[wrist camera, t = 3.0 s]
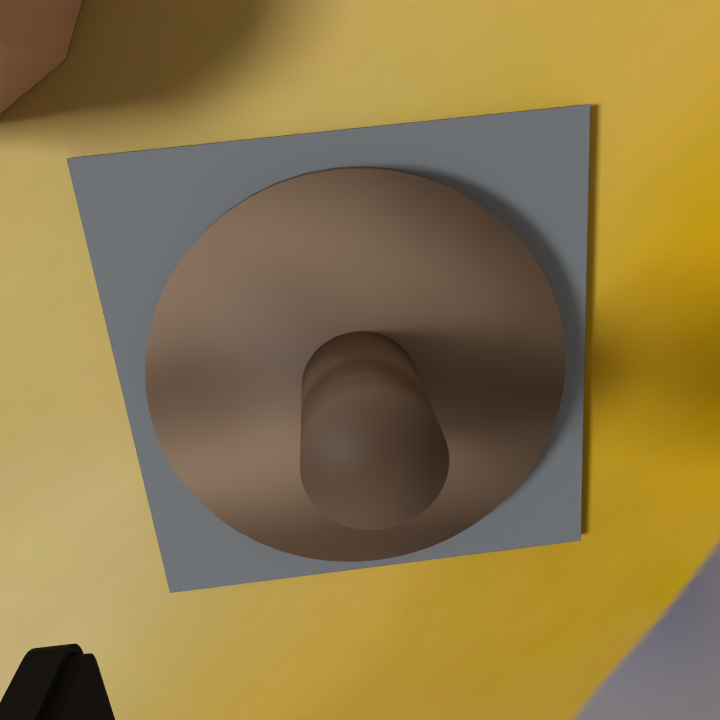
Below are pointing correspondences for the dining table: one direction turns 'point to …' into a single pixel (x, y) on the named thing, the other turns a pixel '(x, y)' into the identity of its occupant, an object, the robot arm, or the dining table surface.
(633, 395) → the dining table surface
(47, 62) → the bowl
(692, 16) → the dining table surface
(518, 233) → the mat
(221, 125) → the dining table surface
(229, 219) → the lid
